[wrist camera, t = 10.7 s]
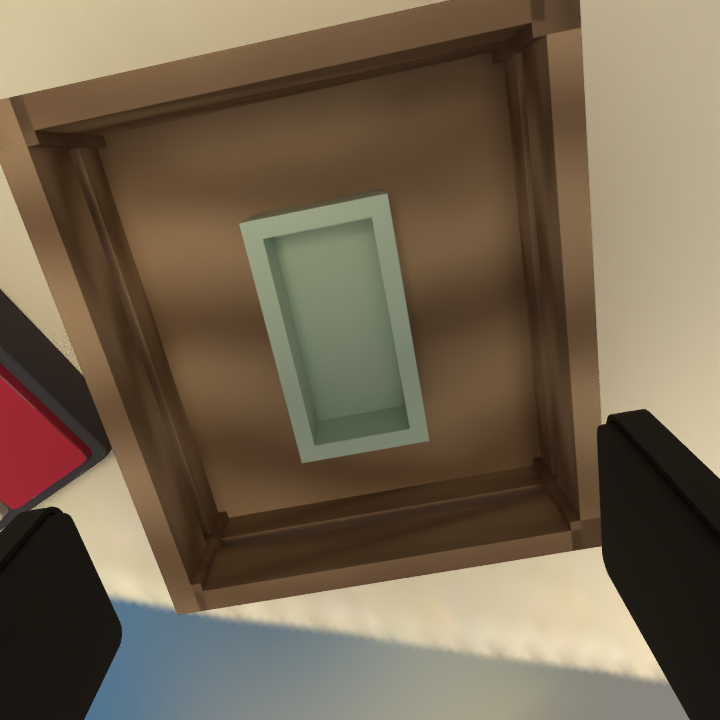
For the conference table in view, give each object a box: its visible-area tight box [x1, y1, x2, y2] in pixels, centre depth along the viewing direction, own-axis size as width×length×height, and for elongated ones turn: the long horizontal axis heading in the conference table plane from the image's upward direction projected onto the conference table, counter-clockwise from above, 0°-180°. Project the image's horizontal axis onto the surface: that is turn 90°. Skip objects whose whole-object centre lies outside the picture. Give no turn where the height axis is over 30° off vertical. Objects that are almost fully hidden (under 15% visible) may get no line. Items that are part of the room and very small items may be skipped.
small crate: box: [239, 189, 429, 463], centre depth 23 cm, size 10×5×3 cm, turn 11°
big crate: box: [0, 0, 602, 615], centre depth 23 cm, size 20×18×6 cm
